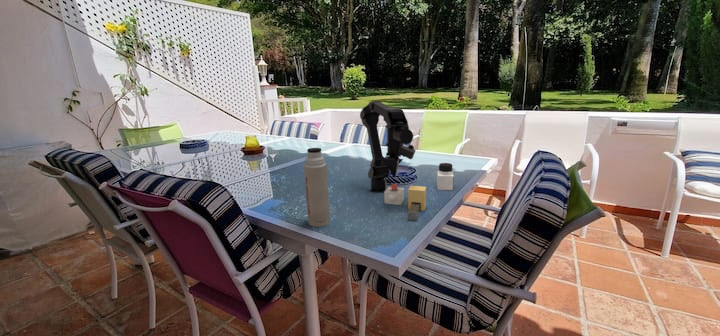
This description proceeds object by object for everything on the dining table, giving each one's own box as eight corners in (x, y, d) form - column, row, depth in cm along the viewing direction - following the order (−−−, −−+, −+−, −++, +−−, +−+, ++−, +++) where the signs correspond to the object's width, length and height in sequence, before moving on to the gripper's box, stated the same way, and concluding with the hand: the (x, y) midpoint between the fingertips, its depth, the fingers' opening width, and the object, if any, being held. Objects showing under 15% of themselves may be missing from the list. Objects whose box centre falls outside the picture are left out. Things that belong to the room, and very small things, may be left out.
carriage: (408, 209, 126) (408, 189, 123) (410, 204, 130) (410, 185, 128) (424, 210, 124) (424, 190, 121) (425, 206, 128) (426, 186, 126)
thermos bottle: (307, 227, 113) (301, 151, 106) (309, 218, 121) (303, 147, 113) (329, 226, 114) (325, 150, 106) (330, 217, 121) (325, 145, 114)
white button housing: (384, 203, 133) (384, 192, 131) (388, 197, 139) (388, 186, 138) (400, 205, 130) (400, 193, 129) (404, 198, 137) (404, 188, 136)
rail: (408, 220, 116) (408, 212, 116) (414, 204, 131) (414, 197, 130) (416, 220, 115) (416, 213, 115) (422, 204, 130) (422, 198, 129)
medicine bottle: (453, 190, 145) (454, 165, 142) (437, 190, 147) (438, 165, 144) (451, 185, 152) (453, 161, 149) (436, 185, 154) (437, 161, 150)
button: (391, 190, 133) (390, 185, 132) (392, 188, 135) (392, 183, 135) (396, 190, 132) (396, 186, 132) (397, 188, 134) (397, 184, 134)
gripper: (410, 145, 117) (409, 184, 121) (417, 136, 134) (416, 171, 138) (381, 144, 121) (381, 182, 125) (392, 136, 138) (392, 170, 142)
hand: (394, 176), depth 132 cm, fingers closed
